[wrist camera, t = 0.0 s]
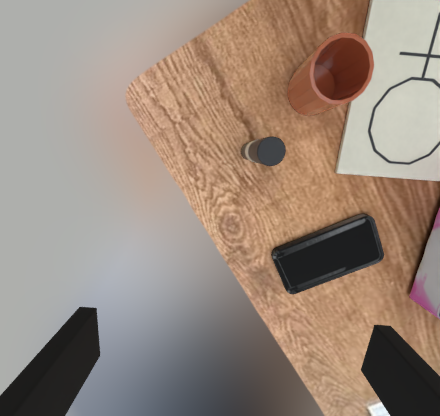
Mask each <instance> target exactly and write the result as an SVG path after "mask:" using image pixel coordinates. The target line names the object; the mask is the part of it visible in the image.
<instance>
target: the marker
mask: <svg viewBox="0 0 440 416" xmlns="http://www.w3.org/2000/svg"><path fill="white" fill-rule="evenodd" d="M285 152H286V149H285V145H284V143H283V142H282V140H280V139H279V138H277V137H267V138H263V139H258V140H254V141H251V142H249V143H246V144H244V145H243V146H242V148H241V155H242V156H243V158H245V159H247V160H250V161H252V162H255V163H260V164H263V165H266V166H274V165H277V164H279V163H280V162H281V161H282V160H283V158H284V156H285Z"/></svg>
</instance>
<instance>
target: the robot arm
mask: <svg viewBox="0 0 440 416" xmlns="http://www.w3.org/2000/svg"><path fill="white" fill-rule="evenodd" d="M99 356H100V347H99V335H98V322H97V309H96V308H88V307H79V309H77V311H76V312H75V313H74V314H73V315H72V316H71V317H70V318H69V319H68V321H67V322H66V323H65V324H64V325H63V326H62V327H61V329H60V330H59V331H58V332H57V333H56V334H55V335H54V336H53V337H52V339H51V340H50V341H49V342H48V343H47V344H46V345H45V347H44V348H43V349H42V350H41V351H40V352H39V353H38V354H37V355H36V356H35V358H34V359H33V360H32V361H31V362H30V363H29V364H28V365H27V366H26V368H25V369H24V370H23V371H22V372H21V373H20V374H19V375H18V377H17V378H16V379H15V380H14V381H13V382H12V383H11V384H10V385H9V387H8V388H7V389H6V390H5V391H4V392H3V393H2V394H1V396H0V416H65V415H66V413H67V411H68V410H69V408H70V406H71V404H72V403H73V401H74V399H75V398H76V396H77V394H78V393H79V391H80V389H81V387H82V386H83V384H84V382H85V380H86V379H87V377H88V375H89V374H90V372H91V370H92V368H93V367H94V365H95V363H96V362H97V360H98V358H99ZM361 371H362V373H363V374H364V376H365V377H366V379H367V380H368V382H369V383H370V385H371V386H372V388H373V390H374V391H375V393H376V394H377V396H378V397H379V399H380V400H381V402H382V403H383V405H384V407H385V408H386V410H387V411H388V413H389V414H390V416H440V376H439V375H438V374H437V373H436V372H435V371H434V370H433V369H432V368H431V367H430V366H429V365H428V364H427V363H426V362H425V361H424V360H423V359H422V358H421V357H420V356H419V355H418V354H417V353H416V352H415V351H414V350H413V349H412V348H411V347H410V346H409V344H408V343H407V342H406V341H405V340H404V339H403V338H402V337H401V336H400V335H399V334H398V333H397V332H396V331H395V330H394V329H393V328H392V327H391V326H384V325H374V328H373V332H372V335H371V338H370V342H369V345H368V348H367V351H366V355H365V358H364V361H363V365H362V368H361Z"/></svg>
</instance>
